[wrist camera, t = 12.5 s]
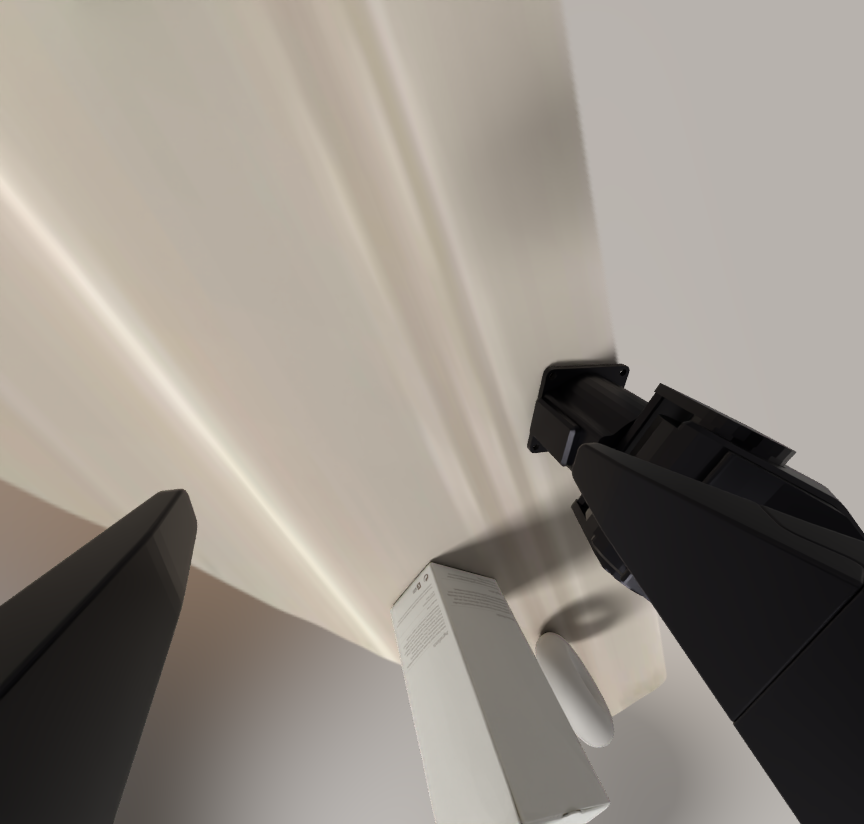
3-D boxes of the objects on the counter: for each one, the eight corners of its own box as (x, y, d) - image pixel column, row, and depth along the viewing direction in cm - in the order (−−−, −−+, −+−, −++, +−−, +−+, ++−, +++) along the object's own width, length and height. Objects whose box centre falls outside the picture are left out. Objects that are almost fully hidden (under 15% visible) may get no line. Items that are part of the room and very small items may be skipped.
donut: (515, 630, 39) (570, 746, 31) (542, 612, 39) (604, 725, 30) (550, 657, 44) (604, 762, 36) (574, 642, 44) (634, 744, 36)
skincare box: (387, 607, 31) (437, 893, 18) (432, 555, 30) (522, 829, 17) (458, 621, 35) (542, 865, 22) (501, 576, 34) (618, 811, 21)
